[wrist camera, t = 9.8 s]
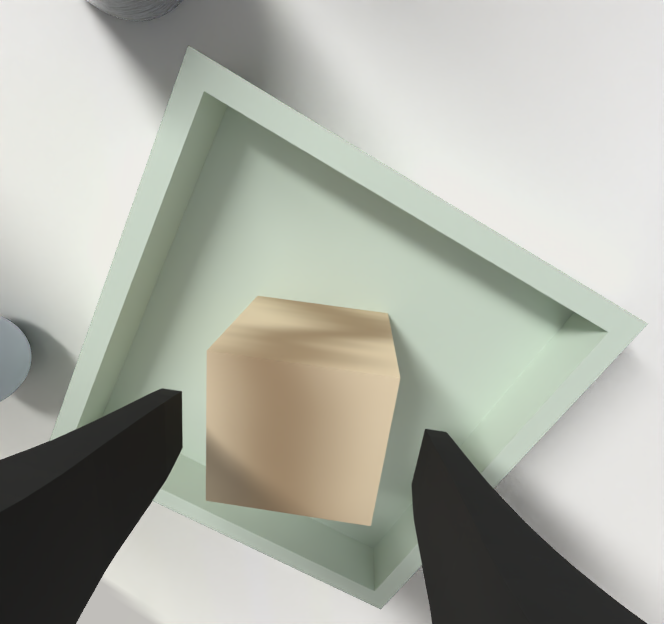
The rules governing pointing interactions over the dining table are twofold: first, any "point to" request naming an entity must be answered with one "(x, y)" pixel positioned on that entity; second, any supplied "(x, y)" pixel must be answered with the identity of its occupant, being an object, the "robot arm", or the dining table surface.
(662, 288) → the dining table surface
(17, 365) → the rubber ball
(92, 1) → the grey can
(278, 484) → the maple block
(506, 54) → the dining table surface
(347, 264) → the sage tray
